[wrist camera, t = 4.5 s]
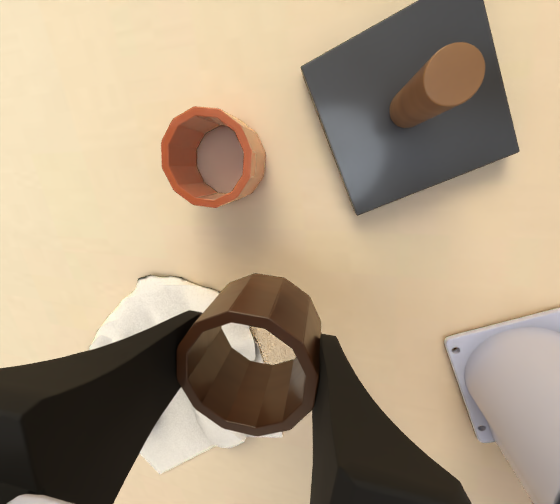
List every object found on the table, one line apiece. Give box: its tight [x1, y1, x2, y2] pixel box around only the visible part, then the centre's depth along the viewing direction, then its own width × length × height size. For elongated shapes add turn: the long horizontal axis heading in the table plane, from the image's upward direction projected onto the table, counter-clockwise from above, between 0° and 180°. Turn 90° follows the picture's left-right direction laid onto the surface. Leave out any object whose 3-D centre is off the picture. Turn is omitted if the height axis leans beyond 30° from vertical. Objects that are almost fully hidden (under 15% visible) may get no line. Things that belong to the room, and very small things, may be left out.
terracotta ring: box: [161, 106, 266, 208], centre depth 17 cm, size 5×5×4 cm
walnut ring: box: [176, 273, 321, 436], centre depth 12 cm, size 5×5×4 cm
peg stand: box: [301, 0, 519, 215], centre depth 13 cm, size 9×9×7 cm
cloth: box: [89, 275, 283, 474], centre depth 24 cm, size 20×22×2 cm
